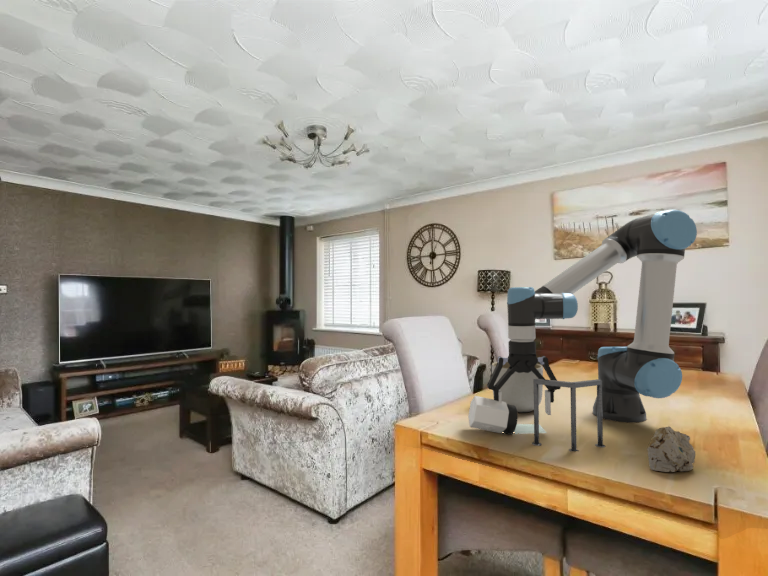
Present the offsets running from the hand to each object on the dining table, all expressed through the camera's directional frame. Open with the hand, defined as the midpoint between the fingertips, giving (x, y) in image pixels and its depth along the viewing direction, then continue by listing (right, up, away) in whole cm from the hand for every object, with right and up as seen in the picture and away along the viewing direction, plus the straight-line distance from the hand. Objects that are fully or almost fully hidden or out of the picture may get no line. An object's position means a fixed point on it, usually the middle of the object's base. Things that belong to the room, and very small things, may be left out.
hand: (523, 413), depth 117 cm
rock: (+24, -5, -28) cm, 37 cm away
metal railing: (+7, -5, -13) cm, 16 cm away
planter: (+6, -6, +24) cm, 25 cm away
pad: (0, -5, 0) cm, 5 cm away
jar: (-15, +1, 0) cm, 15 cm away
